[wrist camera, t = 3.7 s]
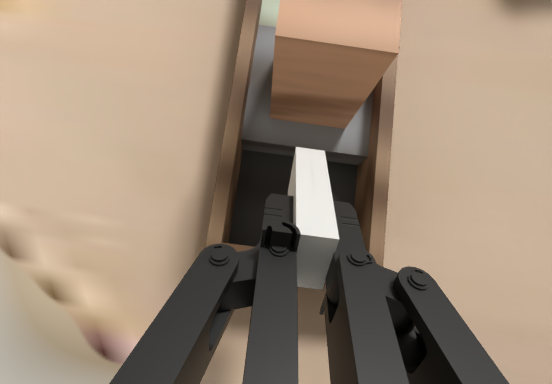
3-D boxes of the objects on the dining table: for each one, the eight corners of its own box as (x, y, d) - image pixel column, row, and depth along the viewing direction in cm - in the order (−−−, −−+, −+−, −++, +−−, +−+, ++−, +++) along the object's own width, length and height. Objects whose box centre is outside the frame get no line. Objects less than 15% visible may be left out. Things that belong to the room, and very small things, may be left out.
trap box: (359, 272, 26) (382, 279, 21) (214, 253, 26) (203, 255, 21) (390, -103, 33) (412, -165, 28) (274, -121, 33) (277, -187, 28)
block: (345, 128, 25) (398, 53, 15) (269, 118, 25) (275, 35, 15) (351, 60, 26) (405, -52, 16) (279, 49, 26) (290, -70, 16)
